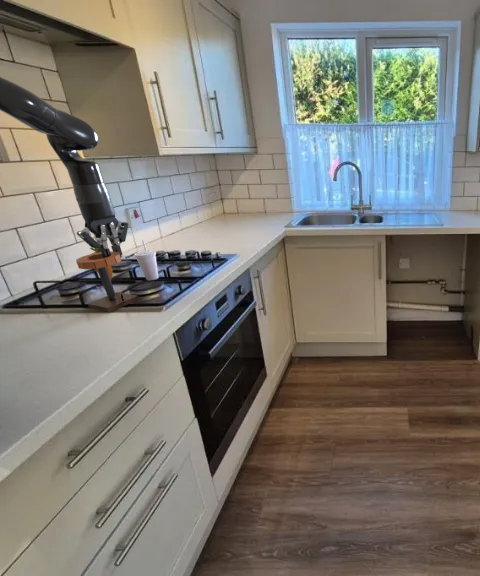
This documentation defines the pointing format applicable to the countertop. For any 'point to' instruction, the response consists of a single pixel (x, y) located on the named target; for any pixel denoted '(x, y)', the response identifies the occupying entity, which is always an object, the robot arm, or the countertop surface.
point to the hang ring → (98, 260)
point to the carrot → (107, 266)
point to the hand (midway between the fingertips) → (114, 258)
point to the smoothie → (147, 263)
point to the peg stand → (111, 295)
